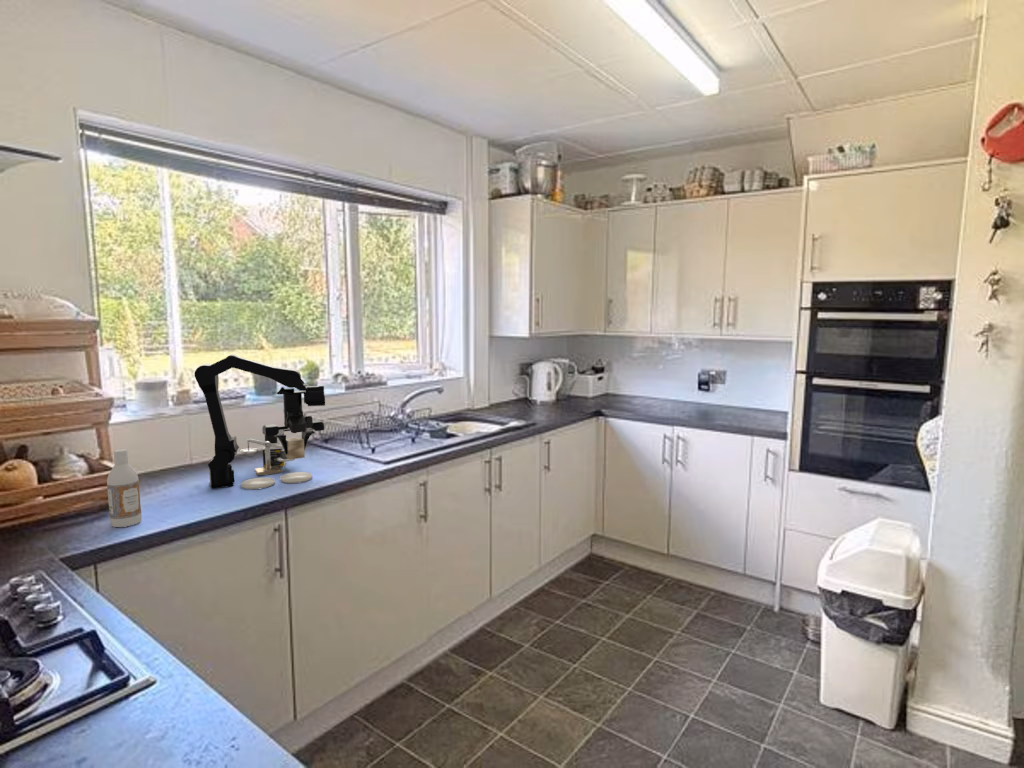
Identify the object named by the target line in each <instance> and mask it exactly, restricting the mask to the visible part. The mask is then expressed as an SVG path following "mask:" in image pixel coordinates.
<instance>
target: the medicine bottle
mask: <svg viewBox="0 0 1024 768" xmlns="http://www.w3.org/2000/svg"><path fill="white" fill-rule="evenodd" d="M266 441H269V442H270V443H272V444H276V445H281V446H282V444H281V442H280V440H279V438H278V437H275V436H265V435H264V442H266ZM280 450H283V449H279V448H274V447H270V459H271V466H277V465H279V466H280V467H281V468H282V467H283V466H284V467H285V466H286V463H287V462H280V461H277V458H279V457H281V456H280ZM262 465H263V466H262V467H266V458H265V446H264V445H263V448H262Z"/></svg>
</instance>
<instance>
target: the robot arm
mask: <svg viewBox="0 0 1024 768" xmlns="http://www.w3.org/2000/svg"><path fill="white" fill-rule="evenodd" d="M230 369H237V370H240V371H244V372H247V373H250V374H254V375H257V376H261V377H265V378H268V379H271V380H273V381H275V382H277V383H279V384H280V385H282V386H281V387H280V388H279V390H277V392H276V394H277V395H282V397H283V416H284V417H283V421H284V422H283V425H277V424H276V423H271V424H264V425H263V426H262V430H261V431H262V434H263V435H264V437H265V436H275V437H278V438H279V440H280V442H281V444H282V446H283V449H284V451H285V453H286V454H287V443H286V439H287V435H286V434H285V432H291V434H298V433H301V438H302V439H303V440H304V452H305V451H306V447H307V444H308V442H309V439H310V437H311V436H312V435H314V434H315V432H319V431H325V423H324V422H323V421H322V420H319V419H313V416H312V415H309V416H304V411H303V404H305V405H307V407H324V406H326V393H325V386H324V385H322V384H321V385H312V386H308V385H307V383H305V382H304V380H303V379H302V375H301V373H300V371H299V370H298V369H296V368H290V367H282V366H281V367H279V366H272V365H269V364H265V363H262V362H260V361H257V360H256V361H255V360H251V359H248V358H245V357H242V356H239V355H236V354H230V355H229V354H228V356H227V357H224V358H223V359H220V360H218V361H216V362H215V363H204V364H202V365H199V366H198V367H197V368H196V369H195V370H194V378H195V380H196V382H197V384H198V387H199V388H200V390H201V391H202V393H203V395H204V398H205V403H206V406H207V410H208V414H209V418H210V422H211V425H212V431H213V435H214V456H212V458H211V459H210V461H209V462H208V464H207V466H208V470H209V473H208V474H209V483H208V484H209V487H210V488H211V489H212V490H213V489H219V488H226V487H232V486H235V484H234V483H235V481H236V480H235V470H234V469H233V467H232V464H230V463H232V462H233V461H234V460H235V457H236V456H237V454H238V451H239V448H240V446H239V445H238V443H237V436H236V435H235V436H233V437H232V435H231V434H230V432H229V429H228V424H227V421H226V417H225V412H224V409H223V404H222V401H221V396H220V394H219V393H220V391H219V383H220V382H219V381H220V379H219V375H220V374H223V373H224V372H226V371H229V370H230ZM285 387H287V388H285ZM295 389H296V390H295Z"/></svg>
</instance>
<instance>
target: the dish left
mask: <svg viewBox="0 0 1024 768" xmlns="http://www.w3.org/2000/svg"><path fill="white" fill-rule="evenodd" d="M275 481H276V479H274V478H273V477H254V478H249V479H246V480H243V481H242V482H241V483H240V485H241V486H240V487H241V489H243V488H245V489H244V490H250V489H254V490H260V489H259V488H263V489H266V488H265V487H267V488H270V487H273V486H274V485H275V484H276V483H275ZM272 485H273V486H272ZM269 486H270V487H269Z"/></svg>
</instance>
